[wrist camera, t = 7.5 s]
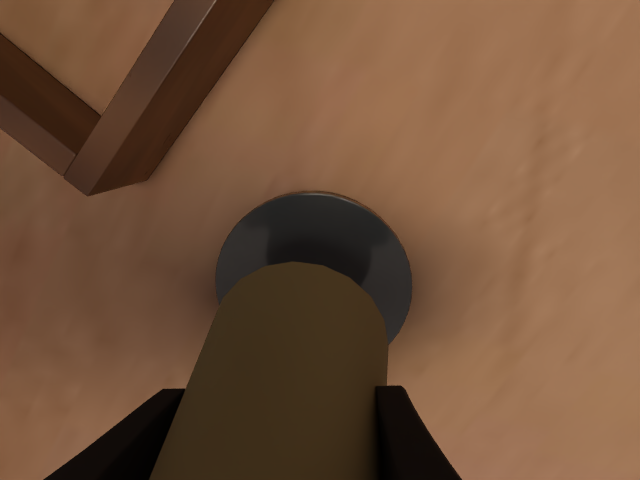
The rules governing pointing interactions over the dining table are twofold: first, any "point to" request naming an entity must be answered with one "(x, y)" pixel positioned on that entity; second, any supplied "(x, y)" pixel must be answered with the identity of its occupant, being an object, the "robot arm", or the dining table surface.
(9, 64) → the frame
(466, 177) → the dining table surface
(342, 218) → the silver flat disc
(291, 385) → the cork
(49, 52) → the dining table surface
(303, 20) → the dining table surface
